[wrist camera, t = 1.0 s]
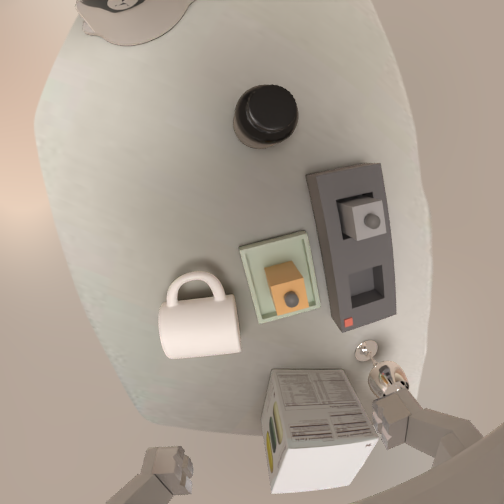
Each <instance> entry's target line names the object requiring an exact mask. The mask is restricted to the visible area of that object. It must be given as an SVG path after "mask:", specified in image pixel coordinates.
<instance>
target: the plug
mask: <svg viewBox="0 0 504 504" xmlns="http://www.w3.org/2000/svg"><path fill="white" fill-rule="evenodd" d="M264 270H265V274H266V279H267V283H268V287H269V291H270V295H271V298H272V301H273V304H274V307H275V310H276V313H277V316H279V315H283V314H286V313H290V312H294V311H297V310H301V309H305V308H308V307H309V304H308V299H307V294H306V288H305V283H304V278H303V276H302V275H301V273H300V272H299V270H298V269H297V268H296V266H295V265H294V263H293V262H292V261H288V262H285V263H281V264H277V265H273V266H269V267H265V268H264Z"/></svg>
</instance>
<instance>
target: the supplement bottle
mask: <svg viewBox="0 0 504 504" xmlns="http://www.w3.org/2000/svg"><path fill="white" fill-rule="evenodd" d="M297 123H298V108H297V104H296V102H295V99H294V98H293V95H291V93H290V92H289V91H287V90H286V89H284V88H283V87H281V86H278V85H259V86H255V87H253V88H251V89H249V90H247V91H246V92H245V93H244V94H243V95H242V96H241V97H240V99H239V100H238V102H237V105H236V108H235V113H234V119H233V127H234V131H235V134H236V136H237V137H238V139H239V140H240V141H241V142H242V143H243V144H245V145H246V146H248V147H251V148H255V149H264V148H268V147H271V146H273V145H275V144H278V143H280V142H282V141H284V140H285V139H287V138H288V137H289V136H290V135H291V134H292V133H293V132H294V130H295V128H296V126H297Z"/></svg>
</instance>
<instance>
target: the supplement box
mask: <svg viewBox="0 0 504 504" xmlns="http://www.w3.org/2000/svg"><path fill="white" fill-rule="evenodd" d="M261 424H262V431H263V438H264V444H265V451H266V458H267V465H268V472H269V479H270V486H271V493H272V494H273V493H292V492H303V491H313V490H322V489H329V488H335V487H342V486H348V485H349V484H350V483H351V482H352V480H353V479H354V477H355V475H356V474H357V473H358V471H359V470H360V468H361V467H362V466H363V465H364V463H365V461H366V459H367V457H368V455H369V454H370V453H371V451H372V449H373V448H374V446H375V444H376V443H377V441H378V440H379V437H378V435H377V433H376V431H375V429H374V427H373V426H372V424H371V422H370V420H369V418H368V416H367V414H366V412H365V410H364V408H363V406H362V405H361V403H360V401H359V399H358V397H357V395H356V393H355V391H354V389H353V388H352V386H351V384H350V382H349V380H348V378H347V376H346V374H345V372H344V371H343V369H334V370H289V369H272V371H271V376H270V380H269V385H268V390H267V394H266V399H265V403H264V408H263V412H262V417H261Z"/></svg>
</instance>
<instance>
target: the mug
mask: <svg viewBox="0 0 504 504" xmlns="http://www.w3.org/2000/svg"><path fill="white" fill-rule="evenodd" d="M192 280H202V281H204V282H206V283H207V284H208V285H209V286H210V288H211V290H212V292H213V295H214V297H206V298H198V299H189V300H181V301H178V298H177V296H178V290H179V288H180V287H181V285H182V284H184V283H186V282H188V281H192ZM158 325H159V335H160V340H161V344H162V347H163V350H164V352H165V354H166V356H167V357H168V358H170V359H177V358H189V357H200V356H211V355H220V354H229V353H237V352H241V350H242V347H241V337H240V329H239V321H238V314H237V308H236V302H235V297H234V295H233V294H230V295H225V292H224V289H223V286H222V284H221V283H220V281H219V280H218V279H217V278H216V277H215V276H214V275H212V274H211V273H208V272H204V271H195V272H190V273H186V274H184V275H182V276H180V277H178V278H177V279H175V280H174V281H173V282H172V284H171V285H170V287H169V289H168V292H167V302H164V303H162V305H161V306H160V309H159V317H158Z"/></svg>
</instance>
